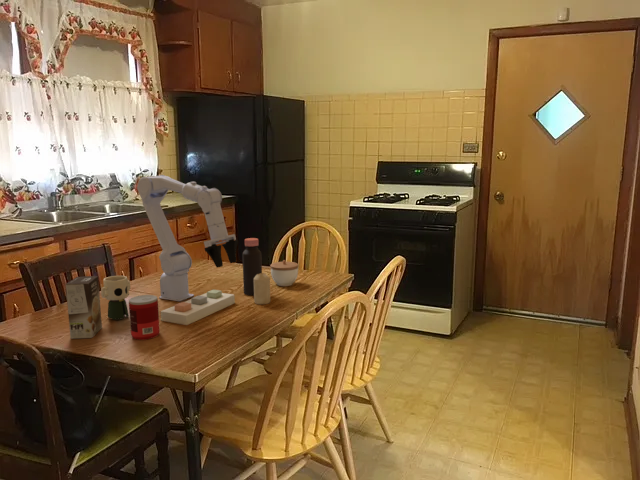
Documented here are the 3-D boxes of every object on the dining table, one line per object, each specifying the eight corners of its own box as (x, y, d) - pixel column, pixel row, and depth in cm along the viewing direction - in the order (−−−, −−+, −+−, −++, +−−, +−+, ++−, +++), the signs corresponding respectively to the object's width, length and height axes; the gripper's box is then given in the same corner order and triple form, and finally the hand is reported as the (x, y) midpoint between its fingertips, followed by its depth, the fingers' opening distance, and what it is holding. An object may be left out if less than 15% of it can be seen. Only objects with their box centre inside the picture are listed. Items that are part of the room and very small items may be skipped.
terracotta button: (174, 313, 174) (174, 304, 173) (182, 310, 177) (182, 301, 176) (184, 315, 172) (183, 306, 172) (191, 311, 175) (191, 303, 175)
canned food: (165, 332, 163) (162, 295, 161) (148, 341, 156) (145, 303, 153) (143, 329, 165) (140, 293, 163) (125, 338, 158) (122, 301, 156)
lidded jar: (304, 282, 217) (303, 259, 215) (287, 289, 208) (287, 264, 206) (281, 279, 222) (281, 256, 221) (265, 285, 213) (264, 261, 212)
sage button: (206, 300, 188) (206, 292, 187) (213, 297, 191) (213, 289, 191) (215, 301, 186) (215, 293, 186) (222, 298, 189) (221, 290, 189)
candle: (267, 304, 188) (267, 276, 187) (252, 304, 190) (251, 275, 188) (272, 300, 194) (271, 272, 192) (257, 299, 195) (256, 271, 193)
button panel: (161, 320, 173) (160, 311, 173) (211, 299, 195) (210, 291, 195) (186, 325, 169) (186, 315, 168) (234, 303, 191) (234, 294, 190)
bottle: (240, 294, 201) (238, 240, 197) (249, 290, 207) (247, 237, 203) (256, 296, 198) (255, 241, 195) (265, 291, 204) (264, 238, 201)
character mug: (112, 325, 169) (108, 283, 167) (96, 321, 173) (92, 280, 171) (139, 315, 179) (137, 275, 176) (124, 311, 182) (121, 273, 180)
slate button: (191, 306, 181) (191, 298, 180) (198, 303, 184) (198, 295, 184) (200, 308, 179) (200, 299, 179) (207, 305, 182) (207, 296, 182)
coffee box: (93, 338, 158) (88, 283, 155) (69, 339, 158) (64, 284, 155) (102, 327, 167) (98, 275, 164) (80, 328, 167) (76, 276, 164)
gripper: (212, 225, 175) (222, 266, 176) (238, 219, 188) (248, 258, 189) (195, 229, 179) (205, 270, 179) (222, 223, 191) (232, 262, 192)
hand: (226, 264), depth 184 cm, fingers open, 7 cm apart
